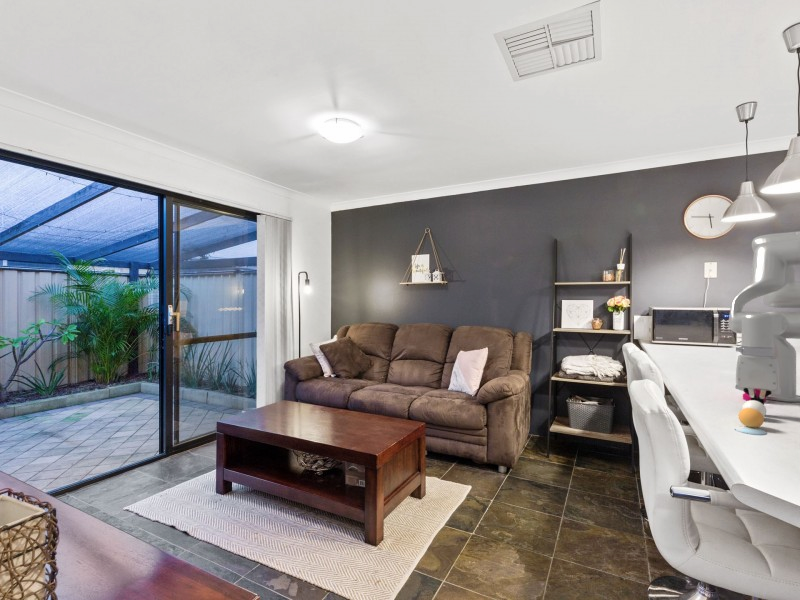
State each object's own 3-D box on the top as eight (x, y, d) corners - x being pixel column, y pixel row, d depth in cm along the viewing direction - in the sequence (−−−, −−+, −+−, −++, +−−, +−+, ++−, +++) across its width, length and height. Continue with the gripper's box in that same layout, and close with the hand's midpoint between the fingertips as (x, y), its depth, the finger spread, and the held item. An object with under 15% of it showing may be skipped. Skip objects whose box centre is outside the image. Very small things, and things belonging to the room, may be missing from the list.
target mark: (738, 425, 117) (738, 424, 117) (770, 431, 111) (770, 431, 111) (728, 429, 114) (728, 428, 114) (760, 436, 108) (760, 435, 108)
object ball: (741, 401, 117) (739, 416, 114) (766, 407, 113) (765, 422, 110) (737, 413, 120) (735, 427, 117) (762, 419, 116) (760, 434, 113)
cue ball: (743, 398, 123) (743, 416, 122) (767, 401, 120) (767, 420, 119) (741, 399, 128) (741, 417, 126) (765, 402, 124) (765, 420, 123)
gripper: (725, 351, 129) (725, 407, 130) (789, 356, 119) (789, 417, 119) (728, 349, 135) (729, 403, 135) (790, 353, 124) (791, 412, 124)
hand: (757, 410), depth 127 cm, fingers closed
